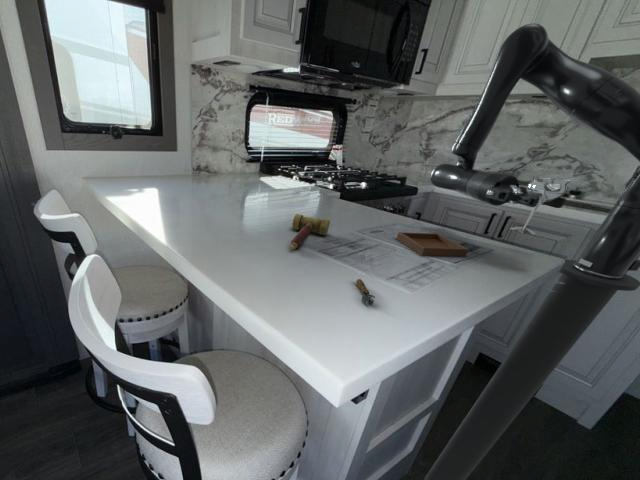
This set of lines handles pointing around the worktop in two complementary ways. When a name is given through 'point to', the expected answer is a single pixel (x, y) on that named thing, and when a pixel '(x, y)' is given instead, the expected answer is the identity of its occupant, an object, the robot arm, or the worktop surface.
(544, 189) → the wineglass
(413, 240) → the tray
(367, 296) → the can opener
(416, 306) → the worktop surface
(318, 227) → the gavel
